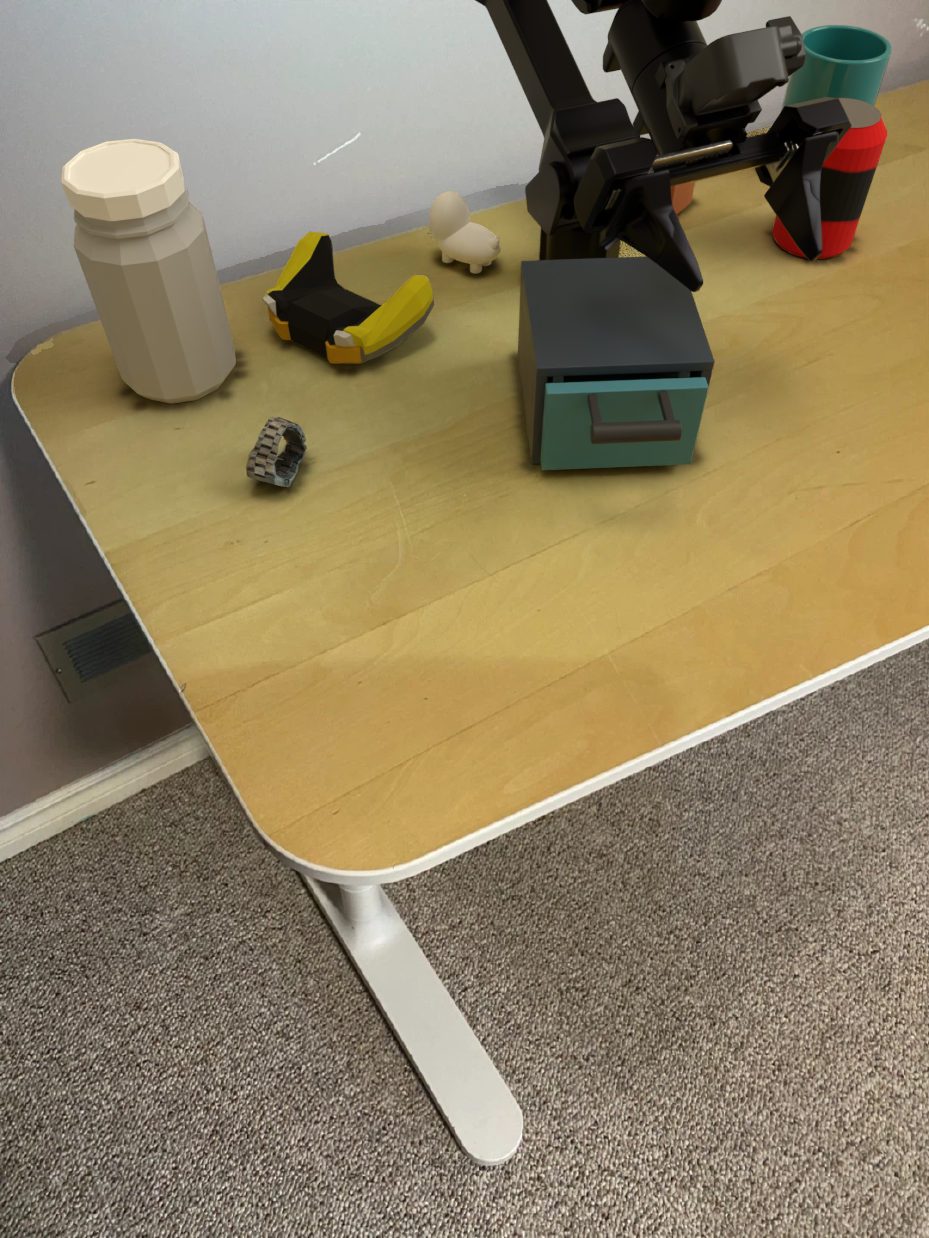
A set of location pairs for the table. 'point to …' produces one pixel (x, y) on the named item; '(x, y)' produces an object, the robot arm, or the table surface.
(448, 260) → the toy creature
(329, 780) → the table surface
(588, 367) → the small filing cabinet
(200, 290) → the jar
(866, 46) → the cup
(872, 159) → the soda can
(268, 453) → the wristwatch
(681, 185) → the block
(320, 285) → the gaming controller
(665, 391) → the drawer
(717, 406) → the table surface
